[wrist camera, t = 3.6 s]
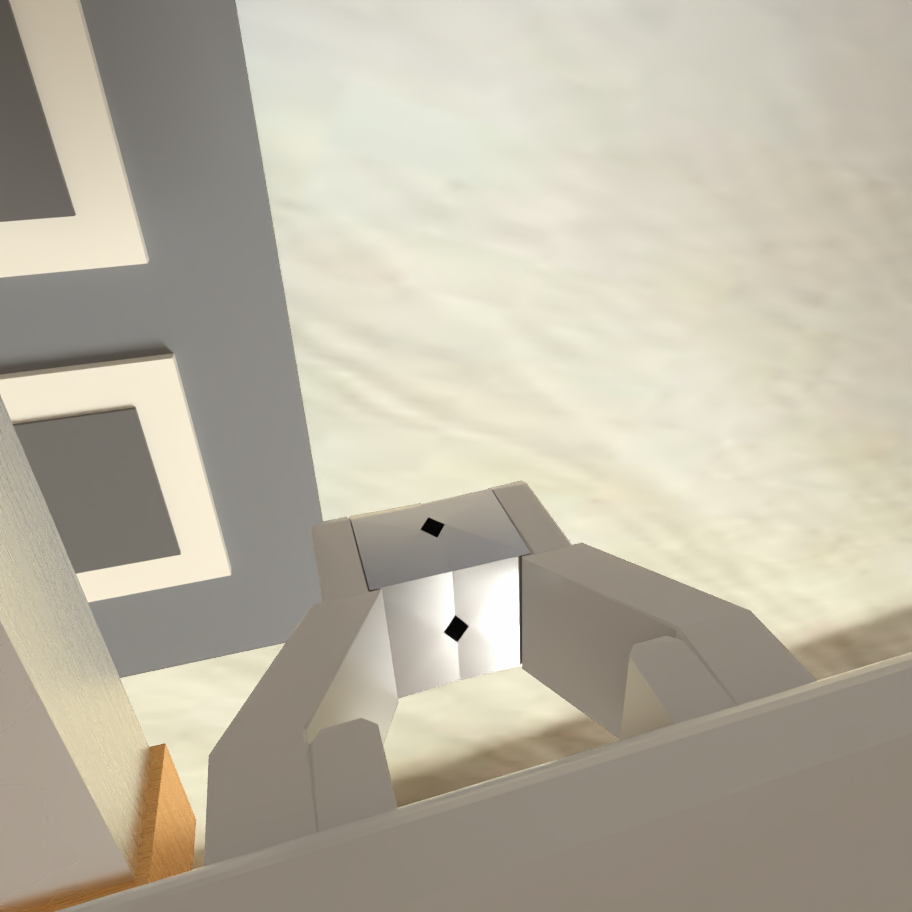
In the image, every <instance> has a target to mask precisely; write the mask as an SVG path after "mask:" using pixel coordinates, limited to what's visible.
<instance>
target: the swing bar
mask: <svg viewBox="0 0 912 912" xmlns="http://www.w3.org/2000/svg"><path fill="white" fill-rule="evenodd" d="M195 827H196V819H195V816H194V814H193V811H192V809H191V806H190V804H189V801H188V799H187V796H186V794H185V791H184V789H183V786H182V784H181V781H180V779H179V776H178V774H177V771H176V769H175V766H174V764H173V761H172V759H171V756H170V754H169V751H168V749H167V746H166V744H161V745H157V746H152V747H149V746H148V744H147V741H146V739H145V737H144V734H143V732H142V729H141V727H140V725H139V722H138V720H137V718H136V715H135V713H134V710H133V708H132V706H131V703H130V701H129V699H128V696H127V694H126V692H125V689H124V687H123V684H122V682H121V680H120V677H119V675H118V673H117V670H116V668H115V665H114V663H113V661H112V658H111V656H110V654H109V651H108V649H107V646H106V644H105V642H104V639H103V637H102V635H101V632H100V630H99V628H98V625H97V623H96V620H95V618H94V616H93V613H92V611H91V609H90V606H89V604H88V601H87V599H86V597H85V594H84V592H83V590H82V587H81V585H80V582H79V580H78V578H77V575H76V573H75V571H74V568H73V566H72V564H71V561H70V559H69V556H68V554H67V552H66V549H65V547H64V545H63V542H62V540H61V537H60V535H59V533H58V530H57V528H56V526H55V523H54V521H53V518H52V516H51V514H50V511H49V509H48V507H47V504H46V502H45V500H44V497H43V495H42V492H41V490H40V488H39V485H38V483H37V481H36V478H35V476H34V473H33V471H32V469H31V466H30V464H29V462H28V459H27V457H26V454H25V452H24V450H23V447H22V445H21V443H20V440H19V438H18V436H17V433H16V431H15V428H14V426H13V424H12V421H11V419H10V417H9V414H8V412H7V409H6V407H5V405H4V402H3V400H2V398H1V395H0V912H55V911H58V910H62V909H65V908H68V907H72V906H75V905H78V904H82V903H85V902H88V901H91V900H95V899H98V898H101V897H105V896H108V895H111V894H115V893H118V892H121V891H125V890H128V889H131V888H134V887H138V886H141V885H144V884H148V883H151V882H154V881H158V880H161V879H164V878H167V877H171V876H174V875H177V874H181V873H184V872H187V871H191V870H193V855H194V841H195Z"/></svg>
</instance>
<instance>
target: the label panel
mask: <svg viewBox="0 0 912 912" xmlns="http://www.w3.org/2000/svg"><path fill="white" fill-rule="evenodd" d="M0 395H1V398H2V400H3V402H4V405H5V407H6V409H7V412H8V414H9V417H10V419H11V421H12V424H13V426H14V428H15V431H16V433H17V436H18V438H19V440H20V443H21V445H22V447H23V450H24V452H25V454H26V457H27V459H28V462H29V464H30V466H31V469H32V471H33V473H34V476H35V478H36V481H37V483H38V485H39V488H40V490H41V492H42V495H43V497H44V500H45V502H46V504H47V507H48V509H49V511H50V514H51V516H52V518H53V521H54V523H55V526H56V528H57V530H58V533H59V535H60V537H61V540H62V542H63V545H64V547H65V549H66V552H67V554H68V556H69V559H70V561H71V564H72V566H73V568H74V571H75V573H76V575H77V578H78V580H79V582H80V585H81V587H82V590H83V592H84V594H85V597H86V599H87V601H88V604H89V606H90V609H91V611H92V613H93V616H94V618H95V620H96V623H97V625H98V628H99V630H100V632H101V635H102V637H103V639H104V642H105V644H106V646H107V649H108V651H109V654H110V656H111V658H112V661H113V663H114V665H115V668H116V670H117V673H118V675H119V677H120V678H122V677H127V676H131V675H136V674H141V673H146V672H150V671H155V670H160V669H164V668H169V667H174V666H178V665H183V664H188V663H192V662H197V661H202V660H206V659H211V658H216V657H221V656H225V655H230V654H235V653H239V652H244V651H249V650H253V649H258V648H263V647H267V646H272V645H277V644H281V643H286V642H287V640H288V639H289V637H290V636H291V635H292V633H293V632H294V630H295V629H296V627H297V626H298V624H299V623H300V621H301V620H302V618H303V617H304V615H305V614H306V613H307V611H308V610H309V608H310V607H311V606H312V605H315V604H319V603H323V601H322V595H321V589H320V583H319V577H318V571H317V565H316V560H315V554H314V548H313V542H312V536H311V524H315V523H320V522H323V520H322V514H321V508H320V502H319V496H318V490H317V484H316V478H315V472H314V466H313V460H312V455H311V449H310V443H309V437H308V431H307V425H306V419H305V413H304V407H303V401H302V395H301V389H300V383H299V377H298V371H297V365H296V360H295V354H294V348H293V342H292V336H291V330H290V324H289V318H288V312H287V306H286V300H285V294H284V288H283V282H282V276H281V270H280V264H279V259H278V253H277V247H276V241H275V235H274V229H273V223H272V217H271V211H270V205H269V199H268V193H267V187H266V181H265V175H264V169H263V163H262V158H261V152H260V146H259V140H258V134H257V128H256V122H255V116H254V110H253V104H252V98H251V92H250V86H249V80H248V74H247V68H246V63H245V57H244V51H243V45H242V39H241V33H240V27H239V21H238V15H237V9H236V3H235V0H0Z"/></svg>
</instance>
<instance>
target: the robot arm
mask: <svg viewBox="0 0 912 912" xmlns="http://www.w3.org/2000/svg"><path fill="white" fill-rule="evenodd" d="M349 519H350V520H349ZM349 519H348V518H347V517H343V518H339V519H334V520H329V521H324V522H320V523H315V524H311V536H312V542H313V548H314V554H315V560H316V565H317V571H318V577H319V583H320V589H321V595H322V601H323V603H319V604H315V605H312V606H311V607H310V608H309V610H308V611H307V613H306V614H305V615H304V617H303V618H302V620H301V621H300V623H299V624H298V626H297V627H296V629H295V630H294V632H293V633H292V635H291V636H290V637H289V639H288V640H287V642H286V643H285V645H284V646H283V648H282V649H281V651H280V652H279V654H278V655H277V656H276V658H275V659H274V661H273V662H272V664H271V665H270V667H269V668H268V670H267V671H266V673H265V674H264V676H263V677H262V678H261V680H260V681H259V683H258V684H257V686H256V687H255V689H254V690H253V692H252V693H251V695H250V696H249V697H248V699H247V700H246V702H245V703H244V705H243V706H242V708H241V709H240V711H239V712H238V714H237V715H236V717H235V718H234V719H233V721H232V722H231V724H230V725H229V727H228V728H227V730H226V731H225V733H224V734H223V736H222V737H221V738H220V740H219V741H218V743H217V744H216V746H215V747H214V749H213V750H212V752H211V753H210V755H209V765H208V788H207V811H206V834H205V856H204V867H200V868H197V869H194V870H191V871H187V872H184V873H181V874H177V875H174V876H171V877H167V878H164V879H161V880H158V881H154V882H151V883H148V884H144V885H141V886H138V887H134V888H131V889H128V890H125V891H121V892H118V893H115V894H111V895H108V896H105V897H101V898H98V899H95V900H91V901H88V902H85V903H82V904H78V905H75V906H72V907H68V908H65V909H62V910H58V911H55V912H912V652H911V653H907V654H904V655H901V656H897V657H894V658H891V659H887V660H884V661H881V662H878V663H874V664H871V665H868V666H864V667H861V668H858V669H854V670H851V671H848V672H845V673H841V674H838V675H835V676H831V677H828V678H825V679H821V680H818V681H817V680H816V678H815V677H814V676H813V675H812V674H811V673H810V672H809V671H808V670H807V669H806V668H805V667H804V666H803V665H802V664H801V663H800V662H799V661H798V660H797V659H796V658H795V657H794V656H793V655H792V654H791V652H790V651H789V650H788V649H787V648H786V647H785V646H784V645H783V644H782V643H781V642H780V641H779V640H778V639H777V638H776V637H775V636H774V635H773V634H772V633H771V632H770V631H769V630H768V629H767V628H766V627H765V625H764V624H763V623H762V622H761V621H760V620H759V619H758V618H757V617H756V616H755V615H754V614H753V613H752V612H751V611H750V610H747V609H745V608H742V607H740V606H737V605H735V604H732V603H730V602H727V601H725V600H722V599H720V598H717V597H715V596H713V595H710V594H708V593H705V592H703V591H700V590H698V589H695V588H693V587H690V586H688V585H685V584H683V583H680V582H678V581H675V580H673V579H670V578H668V577H665V576H663V575H661V574H658V573H656V572H653V571H651V570H648V569H646V568H643V567H641V566H638V565H636V564H633V563H631V562H628V561H626V560H623V559H621V558H618V557H616V556H613V555H611V554H609V553H606V552H604V551H601V550H599V549H596V548H594V547H591V546H589V545H586V544H584V543H579V544H574V545H572V544H571V543H570V541H569V540H568V539H567V537H566V536H565V535H564V533H563V532H562V530H561V529H560V528H559V526H558V525H557V524H556V522H555V521H554V520H553V518H552V517H551V515H550V514H549V513H548V511H547V510H546V509H545V507H544V506H543V505H542V503H541V502H540V501H539V499H538V498H537V496H536V495H535V494H534V492H533V491H532V490H531V488H530V487H529V486H528V484H527V483H525V482H523V481H517V482H513V483H509V484H505V485H501V486H497V487H492V488H488V489H487V490H483V491H478V492H474V493H469V494H465V495H460V496H456V497H451V498H447V499H442V500H438V501H433V502H429V503H424V504H421V503H420V504H414V505H409V506H403V507H398V508H393V509H387V510H382V511H376V512H371V513H366V514H360V515H355V516H349ZM517 666H522V669H524V670H525V671H526V672H528V673H529V674H531V675H532V676H533V677H535V678H536V679H537V680H539V681H540V682H542V683H543V684H544V685H546V686H547V687H548V688H550V689H551V690H553V691H554V692H555V693H557V694H558V695H559V696H561V697H562V698H564V699H565V700H566V701H568V702H569V703H571V704H572V705H573V706H575V707H576V708H577V709H579V710H580V711H582V712H583V713H584V714H586V715H587V716H588V717H590V718H591V719H593V720H594V721H595V722H597V723H598V724H599V725H601V726H602V727H604V728H605V729H606V730H608V731H609V732H611V733H612V734H613V735H615V736H616V737H617V738H619V739H620V741H616V742H613V743H610V744H606V745H603V746H600V747H596V748H593V749H590V750H587V751H583V752H580V753H577V754H573V755H570V756H567V757H563V758H560V759H557V760H554V761H550V762H547V763H544V764H540V765H537V766H534V767H530V768H527V769H524V770H521V771H517V772H514V773H511V774H507V775H504V776H501V777H497V778H494V779H491V780H488V781H484V782H481V783H478V784H474V785H471V786H468V787H464V788H461V789H458V790H455V791H451V792H448V793H445V794H441V795H438V796H435V797H431V798H428V799H425V800H422V801H418V802H415V803H412V804H408V805H405V806H402V807H397V803H396V799H395V794H394V790H393V786H392V782H391V777H390V773H389V769H388V765H387V760H386V756H385V752H384V748H383V744H384V742H385V739H386V736H387V733H388V730H389V727H390V725H391V722H392V719H393V716H394V713H395V711H396V708H397V705H398V698H402V697H405V696H408V695H412V694H415V693H418V692H422V691H425V690H428V689H432V688H435V687H439V686H442V685H445V684H449V683H452V682H455V681H459V680H463V679H467V678H471V677H476V676H480V675H484V674H488V673H492V672H497V671H501V670H505V669H509V668H513V667H517Z"/></svg>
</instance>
